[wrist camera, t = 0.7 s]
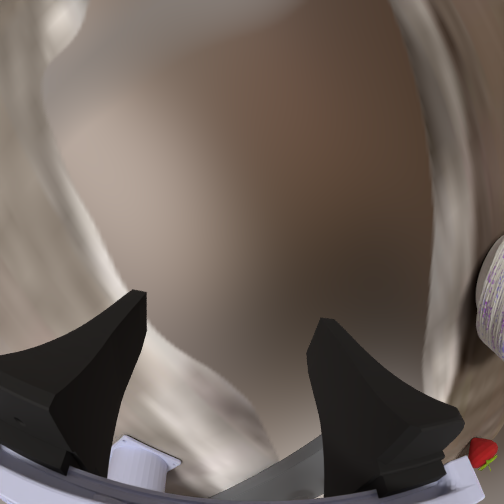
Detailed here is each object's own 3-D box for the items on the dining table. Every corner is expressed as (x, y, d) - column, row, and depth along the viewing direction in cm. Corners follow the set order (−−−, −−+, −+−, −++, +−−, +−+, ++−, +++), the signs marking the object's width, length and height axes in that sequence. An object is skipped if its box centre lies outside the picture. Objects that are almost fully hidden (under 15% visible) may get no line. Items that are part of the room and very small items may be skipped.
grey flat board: (264, 511, 37) (265, 519, 35) (207, 498, 33) (207, 508, 32) (388, 440, 32) (393, 449, 30) (340, 420, 29) (346, 432, 27)
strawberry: (479, 439, 40) (498, 466, 30) (455, 453, 39) (474, 484, 30) (489, 423, 38) (511, 452, 28) (464, 438, 38) (486, 470, 28)
